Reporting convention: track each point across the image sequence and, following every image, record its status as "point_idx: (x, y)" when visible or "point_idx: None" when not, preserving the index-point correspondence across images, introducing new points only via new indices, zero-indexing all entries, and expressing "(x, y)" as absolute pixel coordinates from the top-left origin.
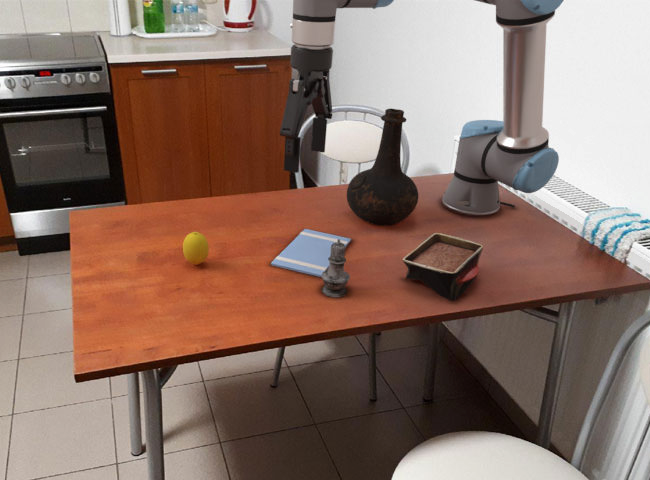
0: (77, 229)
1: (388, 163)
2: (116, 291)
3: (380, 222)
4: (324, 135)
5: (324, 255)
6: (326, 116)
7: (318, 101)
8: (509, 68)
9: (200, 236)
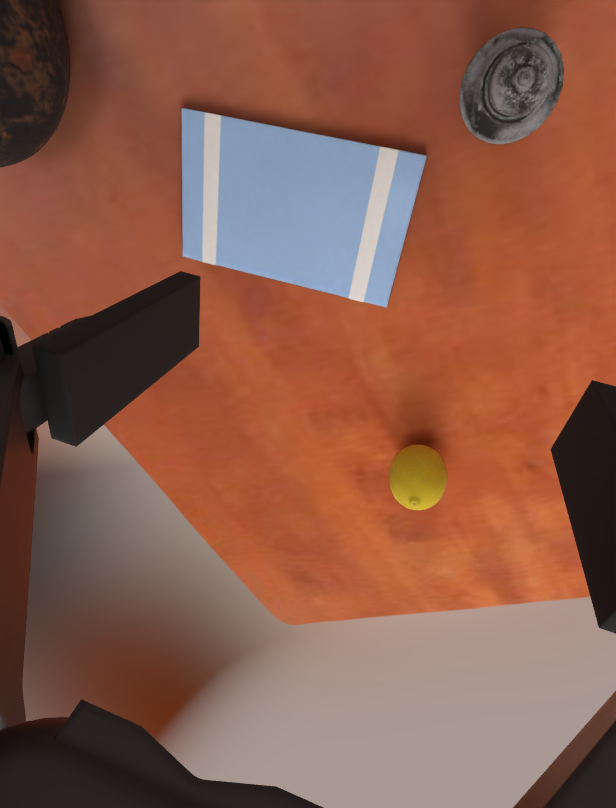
0: (339, 619)
1: None
2: (550, 555)
3: (61, 16)
4: (139, 311)
5: (307, 171)
6: (15, 365)
7: (7, 559)
8: None
9: (420, 488)
